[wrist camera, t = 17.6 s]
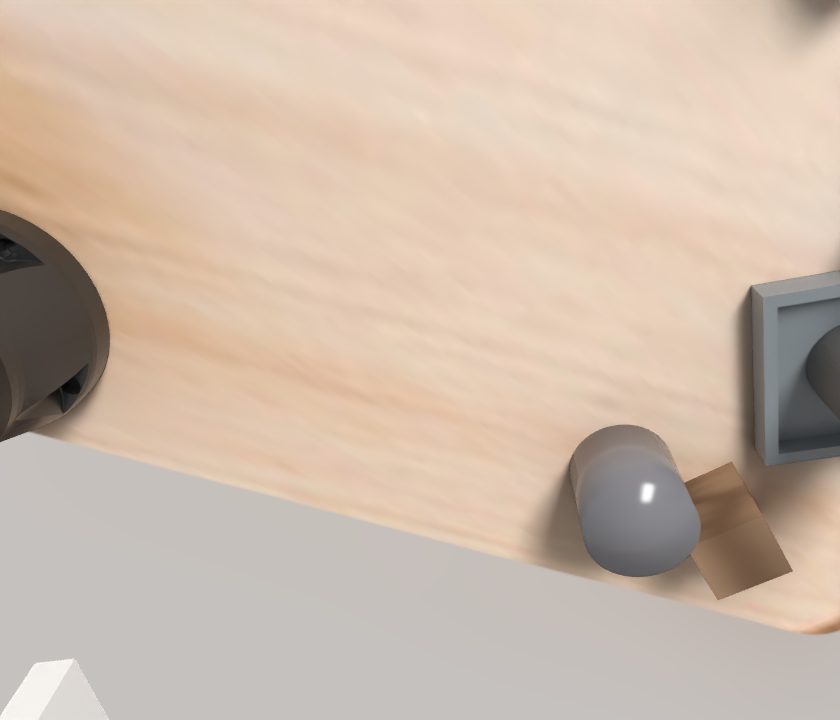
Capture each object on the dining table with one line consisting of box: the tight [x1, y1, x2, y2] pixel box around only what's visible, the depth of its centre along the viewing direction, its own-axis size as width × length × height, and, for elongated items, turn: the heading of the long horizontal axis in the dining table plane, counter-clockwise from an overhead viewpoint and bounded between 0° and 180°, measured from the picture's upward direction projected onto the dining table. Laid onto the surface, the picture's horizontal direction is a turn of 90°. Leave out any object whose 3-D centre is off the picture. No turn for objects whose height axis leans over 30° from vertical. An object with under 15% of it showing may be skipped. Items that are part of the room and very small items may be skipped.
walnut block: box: [684, 462, 793, 600], centre depth 49 cm, size 5×5×6 cm
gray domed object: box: [570, 425, 701, 577], centre depth 48 cm, size 7×7×7 cm
